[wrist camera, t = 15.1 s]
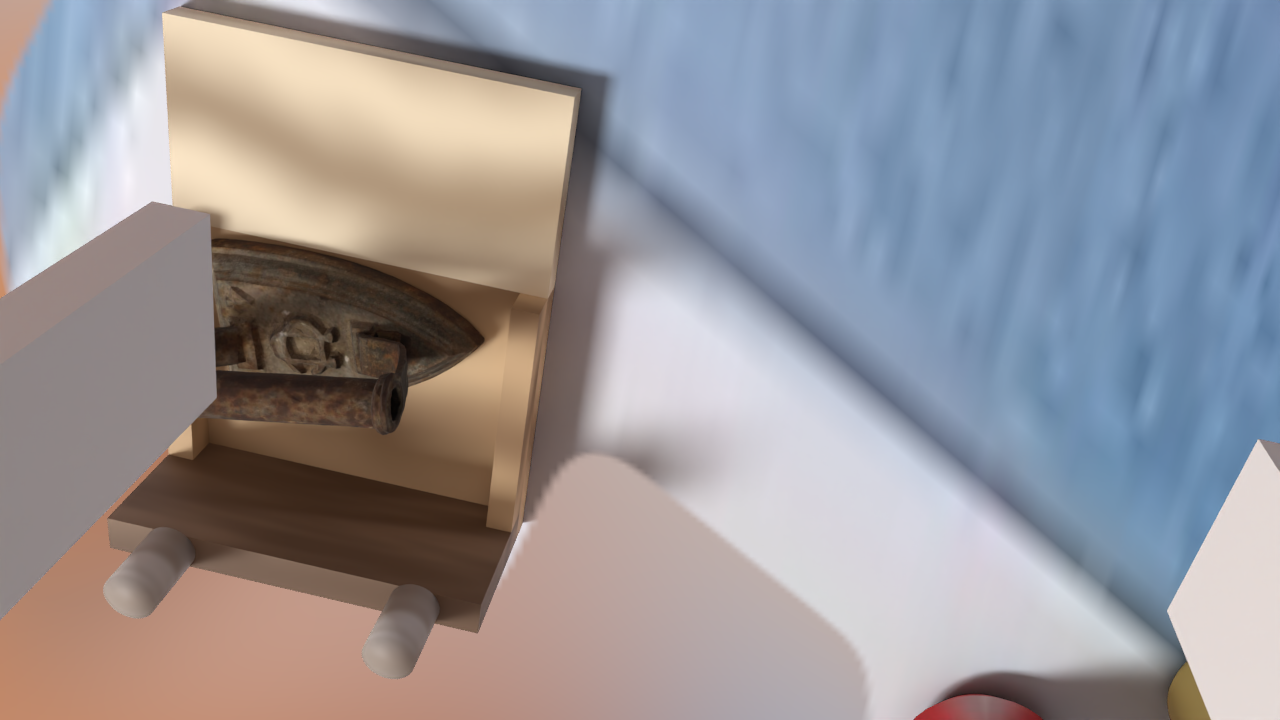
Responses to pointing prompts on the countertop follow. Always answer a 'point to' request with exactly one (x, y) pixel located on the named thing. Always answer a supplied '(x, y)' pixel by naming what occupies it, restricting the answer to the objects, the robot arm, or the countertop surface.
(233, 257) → the clothes iron
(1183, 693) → the paper tube
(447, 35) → the countertop surface
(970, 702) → the liquor
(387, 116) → the cradle
